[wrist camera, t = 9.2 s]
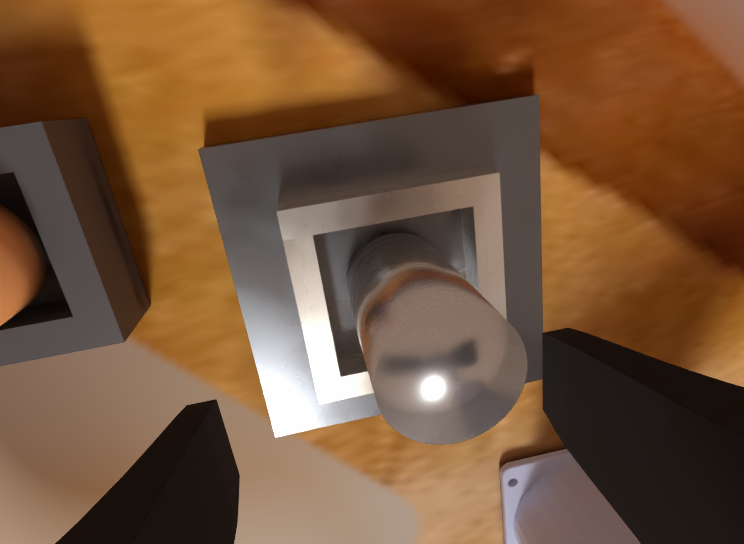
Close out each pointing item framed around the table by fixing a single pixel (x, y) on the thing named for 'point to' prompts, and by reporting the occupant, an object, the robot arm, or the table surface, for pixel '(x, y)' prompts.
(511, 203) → the base plate with socket
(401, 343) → the cylinder
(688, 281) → the table surface
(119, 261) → the button housing
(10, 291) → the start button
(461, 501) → the table surface
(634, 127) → the table surface
